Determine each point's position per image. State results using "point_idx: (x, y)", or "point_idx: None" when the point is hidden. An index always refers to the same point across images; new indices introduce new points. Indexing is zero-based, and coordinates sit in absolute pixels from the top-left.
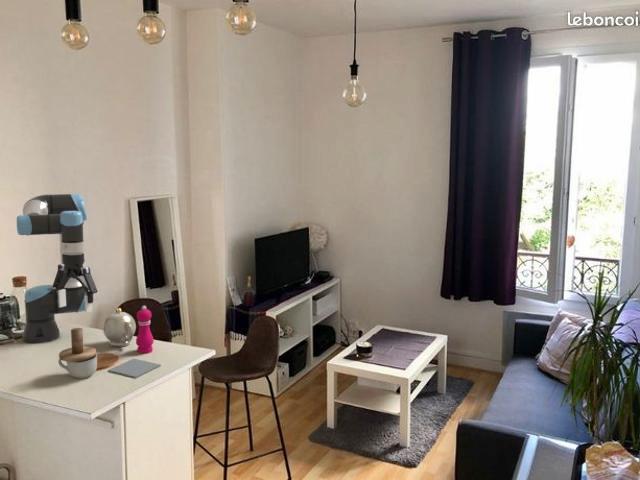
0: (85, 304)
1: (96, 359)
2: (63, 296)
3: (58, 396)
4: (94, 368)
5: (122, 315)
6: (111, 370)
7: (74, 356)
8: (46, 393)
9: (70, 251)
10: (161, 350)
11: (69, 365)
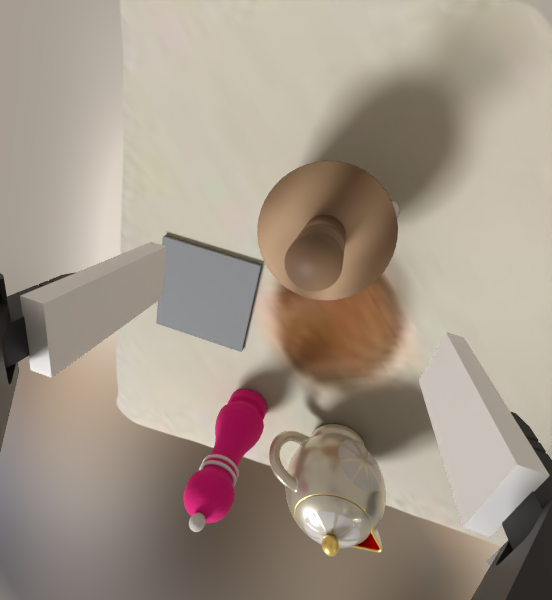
0: (122, 265)
1: None
2: (453, 428)
3: (297, 29)
4: None
5: (310, 518)
6: (249, 264)
7: (310, 189)
8: (353, 39)
9: None
10: (214, 410)
11: None
